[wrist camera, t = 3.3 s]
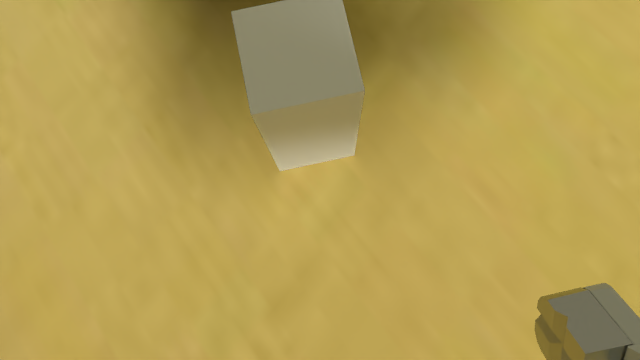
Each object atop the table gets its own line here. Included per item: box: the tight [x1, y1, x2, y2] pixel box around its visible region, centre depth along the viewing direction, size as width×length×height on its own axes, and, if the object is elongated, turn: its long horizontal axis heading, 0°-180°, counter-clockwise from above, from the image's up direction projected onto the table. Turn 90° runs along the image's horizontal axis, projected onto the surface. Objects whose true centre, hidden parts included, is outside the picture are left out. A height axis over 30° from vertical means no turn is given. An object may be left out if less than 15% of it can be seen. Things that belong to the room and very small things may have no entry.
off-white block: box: [231, 0, 365, 171], centre depth 24 cm, size 4×4×10 cm
